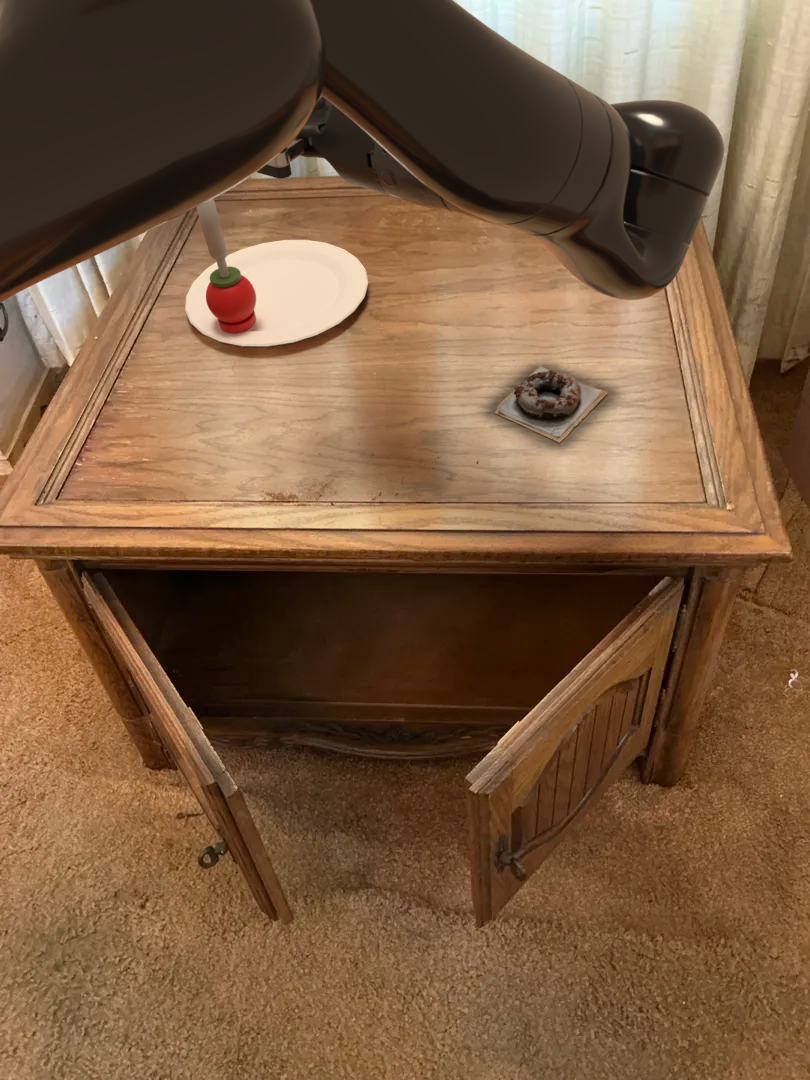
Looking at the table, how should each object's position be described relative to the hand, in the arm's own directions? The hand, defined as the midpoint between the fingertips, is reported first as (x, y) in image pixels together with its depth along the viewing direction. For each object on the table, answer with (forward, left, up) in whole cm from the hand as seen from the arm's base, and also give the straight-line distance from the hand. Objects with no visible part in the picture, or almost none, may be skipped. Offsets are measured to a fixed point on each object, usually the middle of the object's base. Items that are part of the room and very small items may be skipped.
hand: (242, 91), depth 63 cm
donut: (+20, -13, -29) cm, 38 cm away
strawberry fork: (-3, +13, -27) cm, 31 cm away
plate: (+3, +17, -29) cm, 34 cm away
